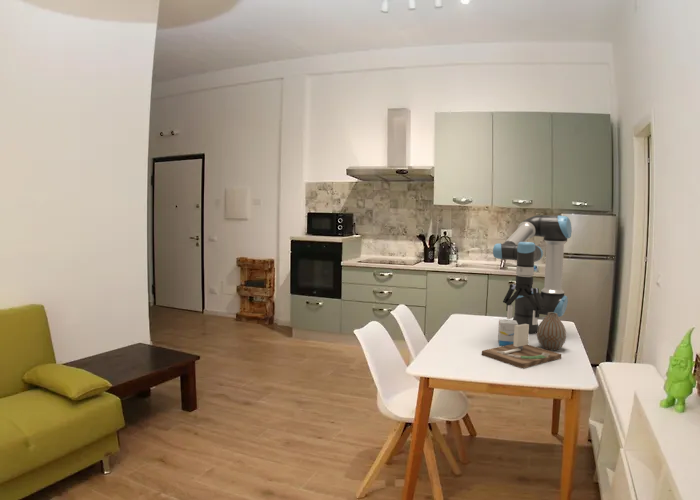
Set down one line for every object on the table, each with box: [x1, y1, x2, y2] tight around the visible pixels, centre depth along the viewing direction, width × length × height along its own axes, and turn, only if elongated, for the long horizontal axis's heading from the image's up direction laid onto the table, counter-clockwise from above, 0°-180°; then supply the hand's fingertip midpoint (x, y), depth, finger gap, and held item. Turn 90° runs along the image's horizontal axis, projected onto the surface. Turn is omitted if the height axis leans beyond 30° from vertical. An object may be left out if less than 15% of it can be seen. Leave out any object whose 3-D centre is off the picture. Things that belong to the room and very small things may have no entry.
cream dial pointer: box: [502, 324, 530, 354], centre depth 220 cm, size 16×2×12 cm, turn 124°
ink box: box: [497, 318, 518, 347], centre depth 241 cm, size 9×8×12 cm
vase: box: [536, 312, 567, 351], centre depth 235 cm, size 13×13×18 cm
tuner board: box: [481, 344, 562, 369], centre depth 220 cm, size 28×22×2 cm
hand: (521, 321), depth 222 cm, fingers open, 13 cm apart
